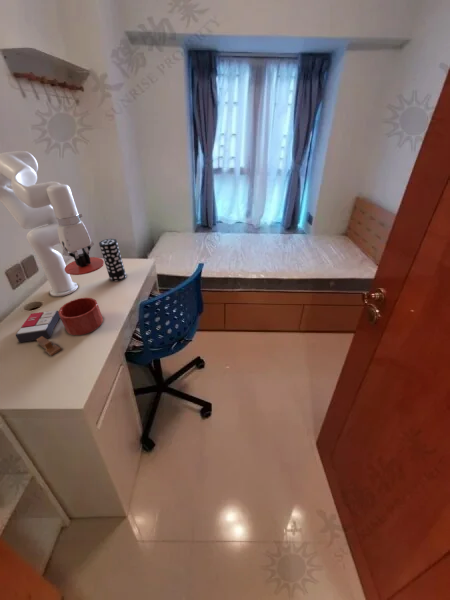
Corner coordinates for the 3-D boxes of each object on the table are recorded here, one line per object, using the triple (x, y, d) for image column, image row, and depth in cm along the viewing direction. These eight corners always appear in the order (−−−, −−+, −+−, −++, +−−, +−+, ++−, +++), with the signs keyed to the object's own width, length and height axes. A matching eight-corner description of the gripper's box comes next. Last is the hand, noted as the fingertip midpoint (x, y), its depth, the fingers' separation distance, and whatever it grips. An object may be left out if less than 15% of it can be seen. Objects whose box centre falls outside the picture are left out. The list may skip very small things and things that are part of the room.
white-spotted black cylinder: (112, 274, 152) (101, 239, 141) (127, 273, 152) (118, 238, 141) (108, 282, 145) (96, 245, 134) (124, 280, 145) (114, 244, 134)
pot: (59, 328, 114) (51, 311, 109) (89, 310, 124) (83, 294, 119) (79, 339, 107) (72, 322, 103) (109, 320, 117) (104, 303, 112)
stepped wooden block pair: (37, 346, 105) (33, 340, 104) (46, 340, 108) (44, 334, 106) (51, 355, 100) (48, 350, 99) (61, 349, 103) (58, 343, 102)
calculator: (57, 308, 119) (45, 329, 106) (61, 317, 121) (49, 338, 109) (30, 312, 118) (13, 333, 105) (34, 321, 120) (18, 342, 107)
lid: (58, 270, 114) (52, 257, 111) (90, 257, 124) (86, 244, 121) (79, 280, 107) (74, 266, 104) (112, 264, 117) (108, 252, 114)
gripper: (82, 213, 112) (95, 255, 122) (42, 225, 101) (60, 270, 111) (94, 215, 108) (106, 259, 119) (53, 228, 97) (71, 275, 108)
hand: (84, 264), depth 115 cm, fingers closed on lid, 2 cm apart
